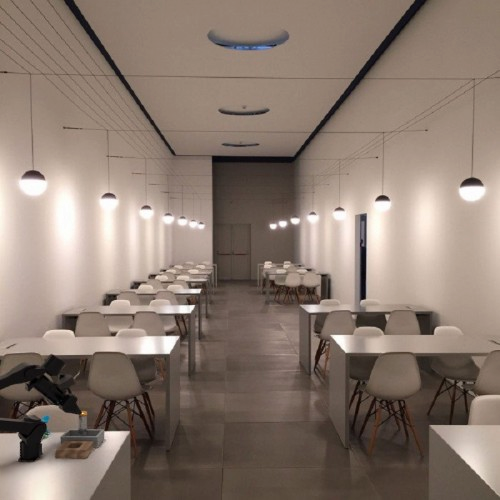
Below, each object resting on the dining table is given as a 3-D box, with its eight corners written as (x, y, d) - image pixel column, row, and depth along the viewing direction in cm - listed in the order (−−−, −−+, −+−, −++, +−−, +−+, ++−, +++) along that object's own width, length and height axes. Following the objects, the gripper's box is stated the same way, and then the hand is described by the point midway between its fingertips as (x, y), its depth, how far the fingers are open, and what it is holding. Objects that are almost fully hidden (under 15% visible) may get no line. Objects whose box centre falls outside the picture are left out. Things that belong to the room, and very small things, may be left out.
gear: (29, 427, 210) (47, 409, 211) (40, 436, 212) (58, 418, 213) (27, 441, 200) (46, 422, 201) (38, 450, 202) (58, 430, 203)
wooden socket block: (55, 458, 184) (55, 449, 184) (64, 449, 192) (64, 441, 192) (86, 458, 184) (85, 450, 184) (93, 449, 192) (93, 441, 192)
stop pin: (79, 443, 195) (78, 414, 195) (77, 440, 198) (77, 411, 198) (87, 441, 197) (87, 412, 197) (86, 438, 200) (86, 410, 199)
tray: (60, 447, 194) (60, 436, 194) (68, 439, 202) (68, 429, 202) (97, 447, 193) (97, 437, 193) (104, 439, 201) (104, 429, 201)
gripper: (71, 373, 185) (101, 398, 192) (51, 364, 199) (79, 387, 206) (50, 400, 180) (81, 424, 187) (30, 389, 193) (60, 412, 201)
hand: (75, 410), depth 196 cm, fingers open, 9 cm apart
